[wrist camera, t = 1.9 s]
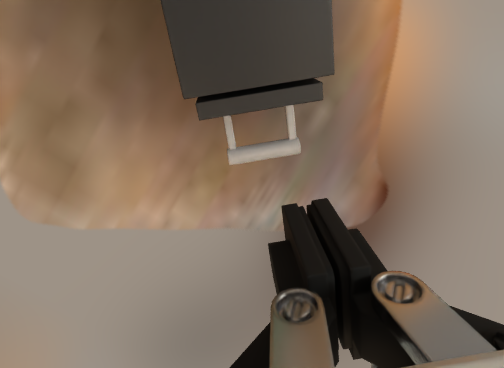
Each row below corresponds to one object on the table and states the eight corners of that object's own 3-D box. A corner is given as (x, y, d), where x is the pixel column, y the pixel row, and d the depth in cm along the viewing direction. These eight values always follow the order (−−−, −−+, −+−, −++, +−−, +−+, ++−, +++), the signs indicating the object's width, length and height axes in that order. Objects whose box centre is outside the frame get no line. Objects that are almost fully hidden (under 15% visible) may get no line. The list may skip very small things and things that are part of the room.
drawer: (303, 135, 32) (326, 165, 25) (214, 150, 32) (213, 184, 25) (285, -87, 25) (310, -134, 18) (169, -69, 24) (149, -109, 17)
